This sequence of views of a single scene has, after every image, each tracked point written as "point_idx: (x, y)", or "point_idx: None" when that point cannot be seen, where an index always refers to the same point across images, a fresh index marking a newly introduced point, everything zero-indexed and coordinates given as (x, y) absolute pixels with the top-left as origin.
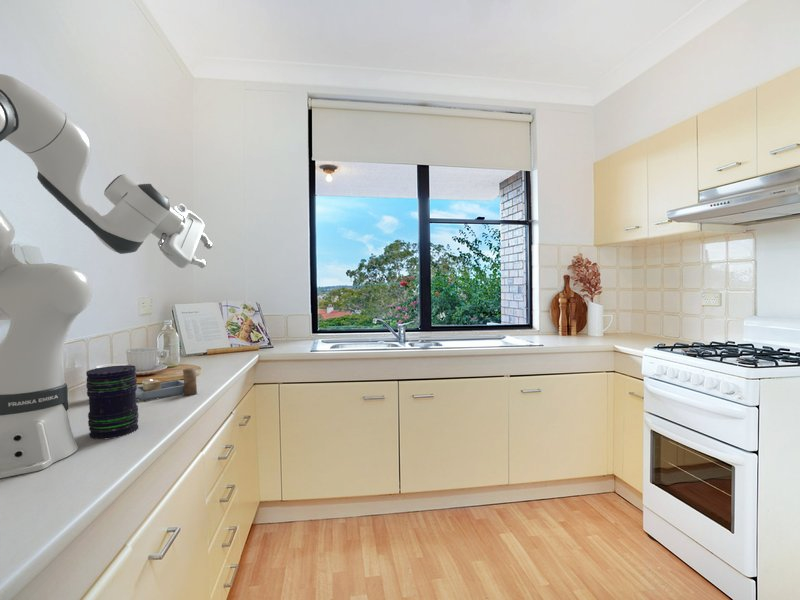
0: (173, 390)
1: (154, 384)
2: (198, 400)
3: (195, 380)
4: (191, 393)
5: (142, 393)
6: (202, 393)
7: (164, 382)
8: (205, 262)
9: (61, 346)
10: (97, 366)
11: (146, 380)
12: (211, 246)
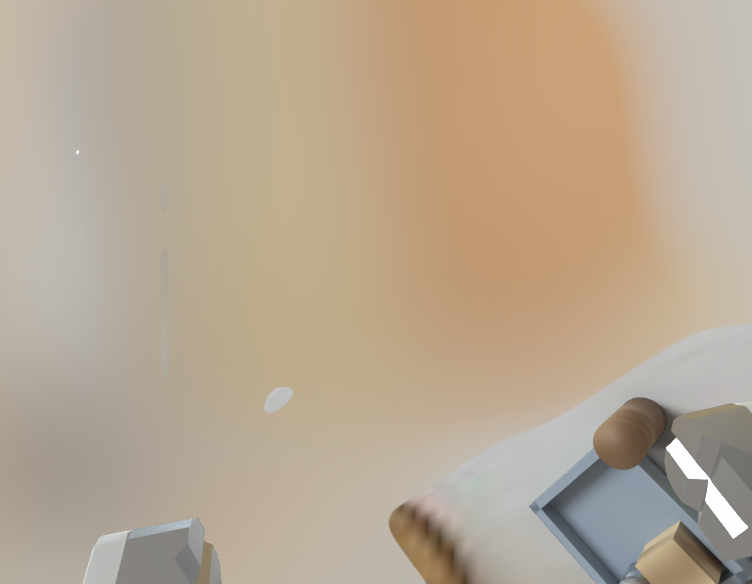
0: (661, 481)
1: (693, 555)
2: (746, 347)
3: (630, 409)
4: (659, 409)
5: (750, 578)
6: (630, 378)
7: (569, 548)
8: (720, 422)
9: None
10: None
11: None
12: (197, 527)
